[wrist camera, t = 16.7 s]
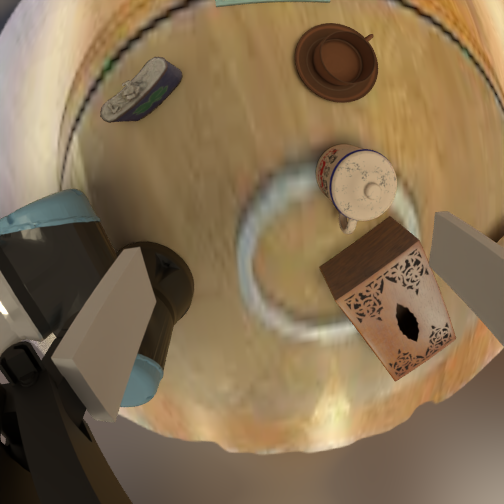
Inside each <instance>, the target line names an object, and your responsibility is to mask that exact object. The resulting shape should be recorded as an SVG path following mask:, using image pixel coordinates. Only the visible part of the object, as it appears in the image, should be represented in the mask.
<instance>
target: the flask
mask: <svg viewBox="0 0 504 504" xmlns="http://www.w3.org/2000/svg"><path fill="white" fill-rule="evenodd" d="M181 79H182V72H181V71H180V69H178V68H176V67H175V66H174V65H172V64H170V63H169V62H168V61H166V60H165V59H164V58H163V57H154V58H152V59H150V60H149V61H148V62H147V63H146V64H145V65H144V67H143V68H142V69H141V71H140V72H139V73H138V74H137V75H136V76H135V77H134V78H133V79H132V80H131V81H127V82H125V83H123V84H122V86H124V85H127V86H126V87H124V88H123V89H122V90H121V91H120V92H119V93H118V94H117V95H115V96H114V97H113V98H111V99H110V100H108V101H107V102H106V103H105V104H104V105H103V106H102V108H101V116H100V117H102V119H103V120H104V121H107V122H109V123H111V122H119V121H138V120H140V119H142V118H144V117H145V116H147V115H148V114H150V113H151V112H152V111H153V110H155V109H156V108H157V107H158V106H159V105H160V104H161V103H162V102H163V101H164V100H165V99H166V98H167V97H168V96H169V95H170V94H171V92H172V91H173V90H174V89H175V88H176V87H177V86H178V84H179V83H180V81H181Z"/></svg>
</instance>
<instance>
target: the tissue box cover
mask: <svg viewBox="0 0 504 504" xmlns="http://www.w3.org/2000/svg"><path fill="white" fill-rule="evenodd" d="M319 268H320V270H321V272H322V274H323V276H324V278H325V280H326V282H327V284H328V287H329V289H330V291H331V293H332V295H333V297H334V299H335V301H336V303H337V304H338V305H339V307H340V308H341V309H342V310H343V312H344V313H345V314H346V316H347V317H348V318H349V320H350V321H351V322H352V324H353V325H354V326H355V328H356V329H357V330H358V332H359V333H360V334H361V336H362V337H363V338H364V340H365V341H366V342H367V344H368V345H369V346H370V348H371V349H372V350H373V352H374V353H375V354H376V356H377V357H378V359H379V360H380V361H381V363H382V364H383V365H384V367H385V368H386V369H387V371H388V372H389V374H390V375H391V376H392V378H393V379H394V381H397V380H399V379H400V378H402V377H403V376H405V375H406V374H408V373H409V372H411V371H412V370H414V369H415V368H417V367H418V366H420V365H421V364H423V363H424V362H426V361H427V360H429V359H430V358H431V357H433V356H434V355H436V354H437V353H438V352H440V351H441V350H442V349H444V348H445V347H446V346H448V345H449V344H450V343H452V342H453V341H454V340H455V339H456V336H455V333H454V330H453V327H452V323H451V320H450V317H449V314H448V311H447V308H446V306H445V303H444V300H443V297H442V294H441V292H440V289H439V286H438V284H437V281H436V279H435V276H434V274H433V271H432V269H431V267H430V266H429V261H428V259H427V257H426V254H425V252H424V250H423V247H422V245H421V243H420V241H419V240H418V239H417V238H416V237H415V236H414V235H412V234H411V233H410V232H409V231H408V230H406V229H405V228H404V227H403V226H401V225H400V224H399V223H398V222H396V221H395V220H394V219H393V218H391V217H390V216H389V217H388V218H387V219H385V220H384V221H383V222H381V223H380V224H379V225H377V226H376V227H375V228H373V229H372V230H371V231H369V232H368V233H367V234H365V235H364V236H362V237H361V238H360V239H358V240H357V241H356V242H354V243H353V244H351V245H350V246H349V247H347V248H346V249H345V250H343V251H342V252H340V253H339V254H337V255H336V256H335V257H333V258H332V259H330V260H329V261H328V262H326V263H325V264H323V265H322V266H320V267H319Z"/></svg>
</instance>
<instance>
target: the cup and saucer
mask: <svg viewBox="0 0 504 504" xmlns="http://www.w3.org/2000/svg"><path fill="white" fill-rule="evenodd" d="M372 38H373V34H370V35H368V36H367V37H365V38H364V37H363V36H362V35H361V34H360V33H358V32H357V31H355V30H354V29H352V28H350V27H347V26H344V25H341V24H335V23H327V24H321V25H318V26H315V27H313V28H311V29H310V30H308V31H307V32H306V33H305V34H304V35H303V36H302V37H301V39H300V40H299V42H298V44H297V47H296V52H295V62H296V67H297V70H298V73H299V75H300V77H301V79H302V80H303V82H304V83H305V84H306V86H307V87H308V88H309V89H310V90H312V91H313V92H314V93H315V94H317V95H319V96H320V97H322V98H324V99H327V100H330V101H334V102H352V101H355V100H358V99H360V98H362V97H364V96H365V95H366V94H367V93H368V92H369V91H370V90H371V89H372V88H373V86H374V84H375V82H376V79H377V75H378V62H377V58H376V55H375V52H374V50H373V48H372V46H371V45H370V43H369V42H368V41H369V40H371V39H372Z"/></svg>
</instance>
